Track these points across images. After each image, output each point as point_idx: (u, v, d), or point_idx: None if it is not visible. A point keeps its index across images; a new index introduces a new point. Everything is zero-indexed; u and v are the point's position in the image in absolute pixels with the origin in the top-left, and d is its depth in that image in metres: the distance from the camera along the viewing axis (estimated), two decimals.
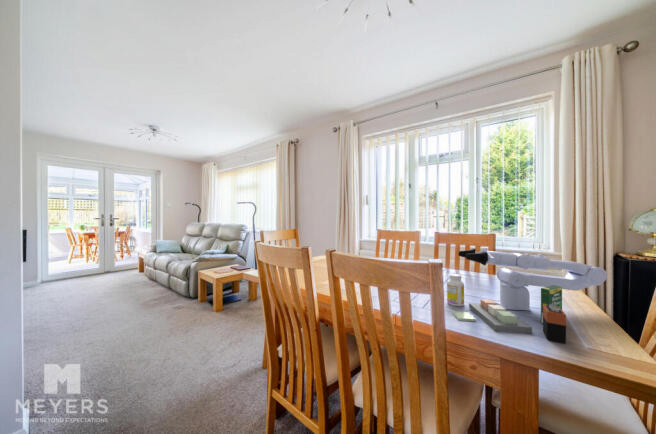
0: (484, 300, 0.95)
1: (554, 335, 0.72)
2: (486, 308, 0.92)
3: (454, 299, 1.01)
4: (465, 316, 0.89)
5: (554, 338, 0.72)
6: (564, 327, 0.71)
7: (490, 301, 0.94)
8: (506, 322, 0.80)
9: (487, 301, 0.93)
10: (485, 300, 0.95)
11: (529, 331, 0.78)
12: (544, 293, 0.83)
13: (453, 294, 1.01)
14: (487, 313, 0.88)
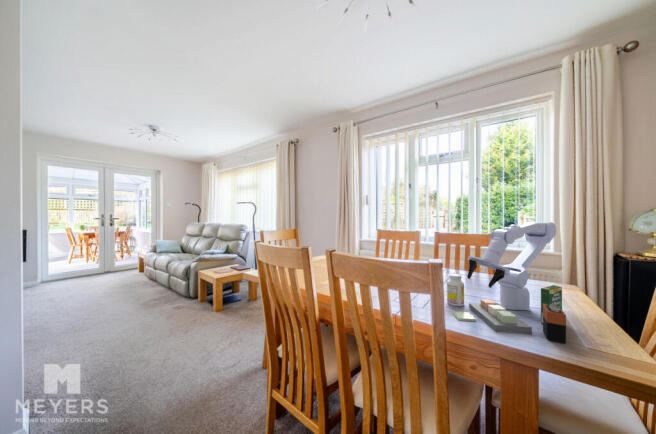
0: (484, 300, 0.95)
1: (554, 335, 0.72)
2: (486, 308, 0.92)
3: (454, 299, 1.01)
4: (465, 316, 0.89)
5: (554, 338, 0.72)
6: (564, 327, 0.71)
7: (490, 301, 0.94)
8: (506, 322, 0.80)
9: (487, 301, 0.93)
10: (485, 300, 0.95)
11: (529, 331, 0.78)
12: (544, 293, 0.83)
13: (453, 294, 1.01)
14: (487, 313, 0.88)
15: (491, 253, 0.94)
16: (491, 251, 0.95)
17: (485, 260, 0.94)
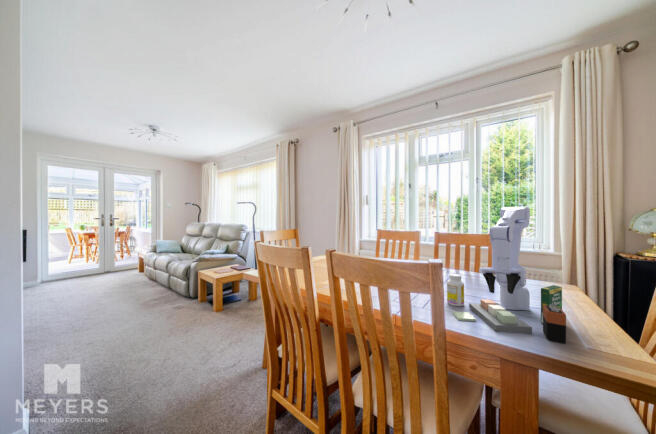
0: (484, 300, 0.95)
1: (554, 335, 0.72)
2: (486, 308, 0.92)
3: (454, 299, 1.01)
4: (465, 316, 0.89)
5: (554, 338, 0.72)
6: (564, 327, 0.71)
7: (490, 301, 0.94)
8: (506, 322, 0.80)
9: (487, 301, 0.93)
10: (485, 300, 0.95)
11: (529, 331, 0.78)
12: (544, 293, 0.83)
13: (453, 294, 1.01)
14: (487, 313, 0.88)
15: (505, 261, 0.87)
16: (504, 259, 0.87)
17: None
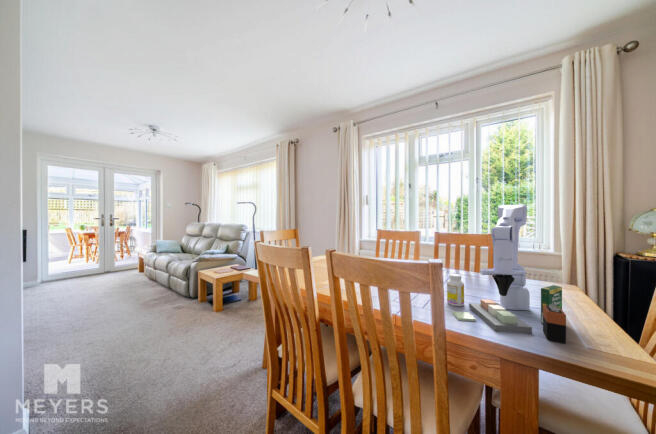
0: (484, 300, 0.95)
1: (554, 335, 0.72)
2: (486, 308, 0.92)
3: (454, 299, 1.01)
4: (465, 316, 0.89)
5: (554, 338, 0.72)
6: (564, 327, 0.71)
7: (490, 301, 0.94)
8: (506, 322, 0.80)
9: (487, 301, 0.93)
10: (485, 300, 0.95)
11: (529, 331, 0.78)
12: (544, 293, 0.83)
13: (453, 294, 1.01)
14: (487, 313, 0.88)
15: (507, 263, 0.84)
16: (506, 260, 0.84)
17: (506, 274, 0.84)
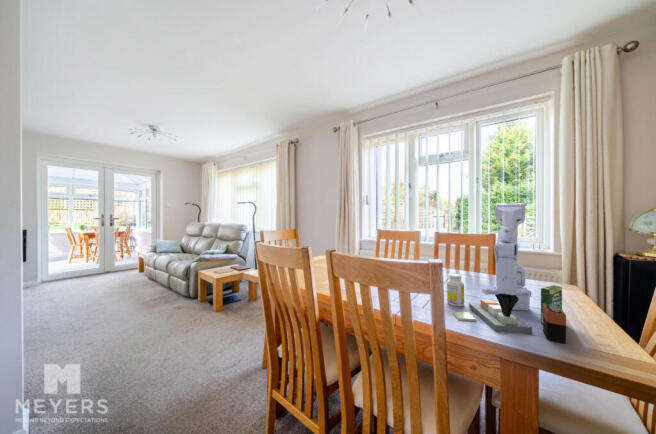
0: (484, 300, 0.95)
1: (554, 335, 0.72)
2: (486, 308, 0.92)
3: (454, 299, 1.01)
4: (465, 316, 0.89)
5: (554, 338, 0.72)
6: (564, 327, 0.71)
7: (490, 301, 0.94)
8: None
9: (487, 301, 0.93)
10: (485, 300, 0.95)
11: (529, 331, 0.78)
12: (544, 293, 0.83)
13: (453, 294, 1.01)
14: (487, 313, 0.88)
15: (511, 282, 0.79)
16: (510, 279, 0.79)
17: (509, 294, 0.79)
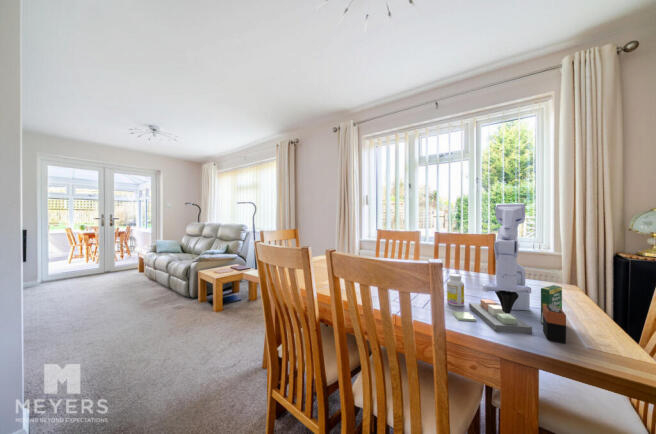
0: (484, 300, 0.95)
1: (554, 335, 0.72)
2: (486, 308, 0.92)
3: (454, 299, 1.01)
4: (465, 316, 0.89)
5: (554, 338, 0.72)
6: (564, 327, 0.71)
7: (490, 301, 0.94)
8: None
9: (487, 301, 0.93)
10: (485, 300, 0.95)
11: (529, 331, 0.78)
12: (544, 293, 0.83)
13: (453, 294, 1.01)
14: (487, 313, 0.88)
15: (511, 279, 0.79)
16: (510, 276, 0.79)
17: (509, 291, 0.79)
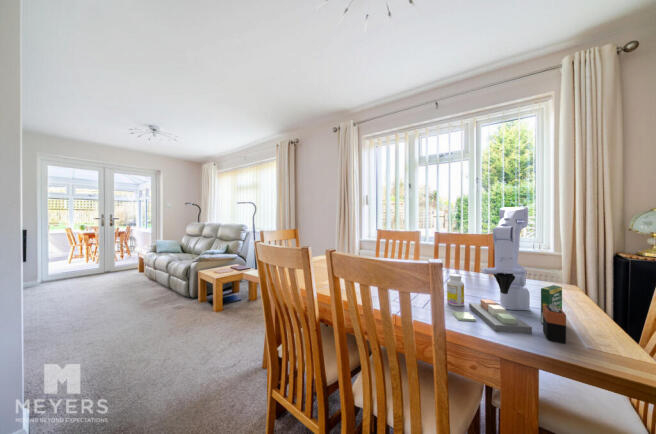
0: (484, 300, 0.95)
1: (554, 335, 0.72)
2: (486, 308, 0.92)
3: (454, 299, 1.01)
4: (465, 316, 0.89)
5: (554, 338, 0.72)
6: (564, 327, 0.71)
7: (490, 301, 0.94)
8: None
9: (487, 301, 0.93)
10: (485, 300, 0.95)
11: (529, 331, 0.78)
12: (544, 293, 0.83)
13: (453, 294, 1.01)
14: (487, 313, 0.88)
15: (508, 262, 0.87)
16: (507, 259, 0.87)
17: (507, 272, 0.86)
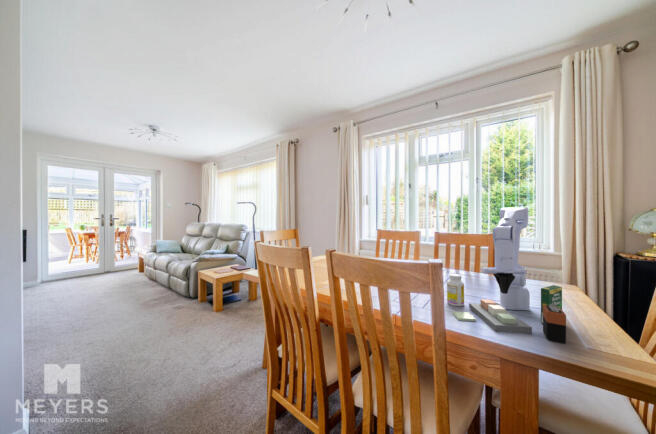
0: (484, 300, 0.95)
1: (554, 335, 0.72)
2: (486, 308, 0.92)
3: (454, 299, 1.01)
4: (465, 316, 0.89)
5: (554, 338, 0.72)
6: (564, 327, 0.71)
7: (490, 301, 0.94)
8: None
9: (487, 301, 0.93)
10: (485, 300, 0.95)
11: (529, 331, 0.78)
12: (544, 293, 0.83)
13: (453, 294, 1.01)
14: (487, 313, 0.88)
15: (508, 261, 0.87)
16: (507, 259, 0.87)
17: (506, 272, 0.87)
